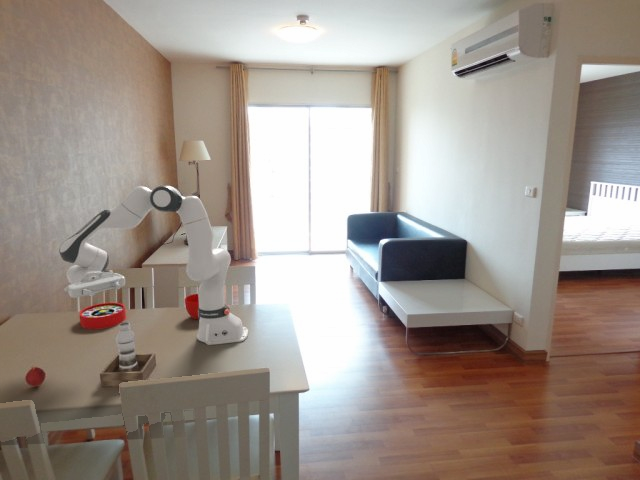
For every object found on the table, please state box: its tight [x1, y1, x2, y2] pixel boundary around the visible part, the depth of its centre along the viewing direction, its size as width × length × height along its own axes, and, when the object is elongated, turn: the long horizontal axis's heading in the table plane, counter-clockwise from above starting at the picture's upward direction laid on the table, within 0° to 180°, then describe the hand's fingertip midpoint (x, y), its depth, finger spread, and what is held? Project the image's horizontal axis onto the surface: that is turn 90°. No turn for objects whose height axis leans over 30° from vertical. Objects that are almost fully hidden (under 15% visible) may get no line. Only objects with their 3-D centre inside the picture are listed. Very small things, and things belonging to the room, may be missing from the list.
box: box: [99, 352, 157, 387], centre depth 157 cm, size 15×15×5 cm
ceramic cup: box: [184, 293, 199, 320], centre depth 213 cm, size 13×17×10 cm
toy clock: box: [78, 302, 127, 330], centre depth 207 cm, size 20×6×20 cm
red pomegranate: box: [24, 365, 46, 388], centre depth 149 cm, size 6×6×8 cm
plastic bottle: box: [115, 321, 138, 372], centre depth 155 cm, size 6×7×20 cm
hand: (105, 290), depth 161 cm, fingers open, 8 cm apart
